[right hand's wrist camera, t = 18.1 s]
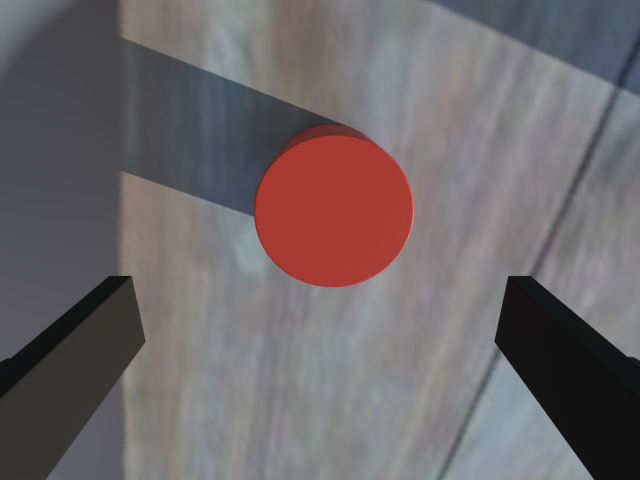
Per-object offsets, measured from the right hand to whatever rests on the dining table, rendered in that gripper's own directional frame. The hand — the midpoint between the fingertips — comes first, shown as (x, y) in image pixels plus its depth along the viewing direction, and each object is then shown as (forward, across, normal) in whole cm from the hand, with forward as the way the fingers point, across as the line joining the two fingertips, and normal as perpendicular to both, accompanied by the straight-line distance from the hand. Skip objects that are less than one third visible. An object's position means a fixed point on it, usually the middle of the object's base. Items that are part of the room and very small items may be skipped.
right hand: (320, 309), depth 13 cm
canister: (+15, -1, -1) cm, 15 cm away
